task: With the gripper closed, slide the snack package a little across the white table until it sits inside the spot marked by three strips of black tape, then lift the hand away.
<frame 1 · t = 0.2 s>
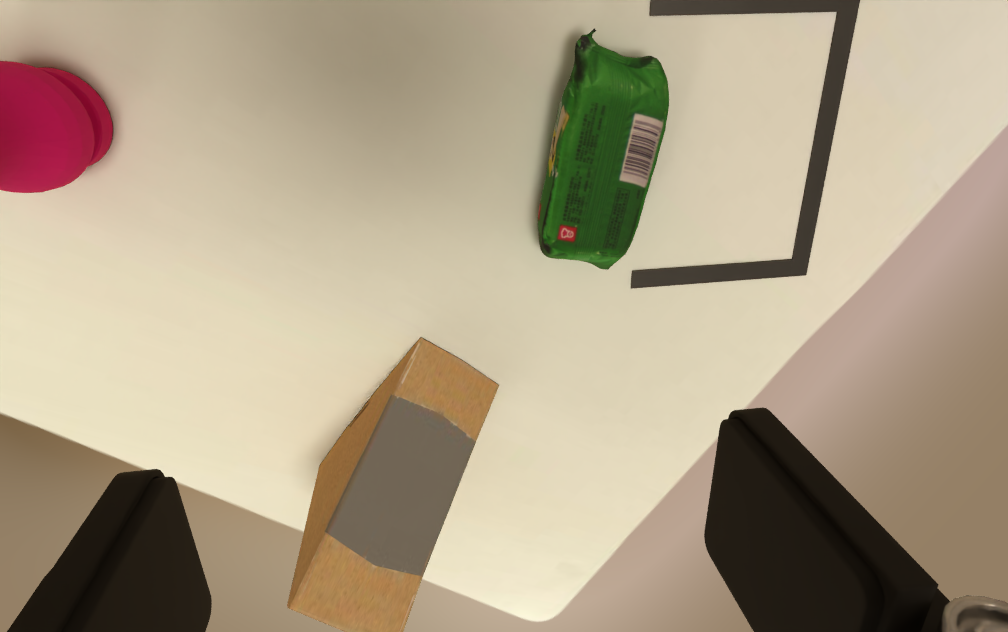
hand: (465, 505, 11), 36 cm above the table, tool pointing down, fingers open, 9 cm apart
pepper mill: (62, 119, 40), on the table
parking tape: (717, 150, 46), on the table
sandwich container: (409, 424, 53), on the table
snack package: (587, 156, 45), on the table
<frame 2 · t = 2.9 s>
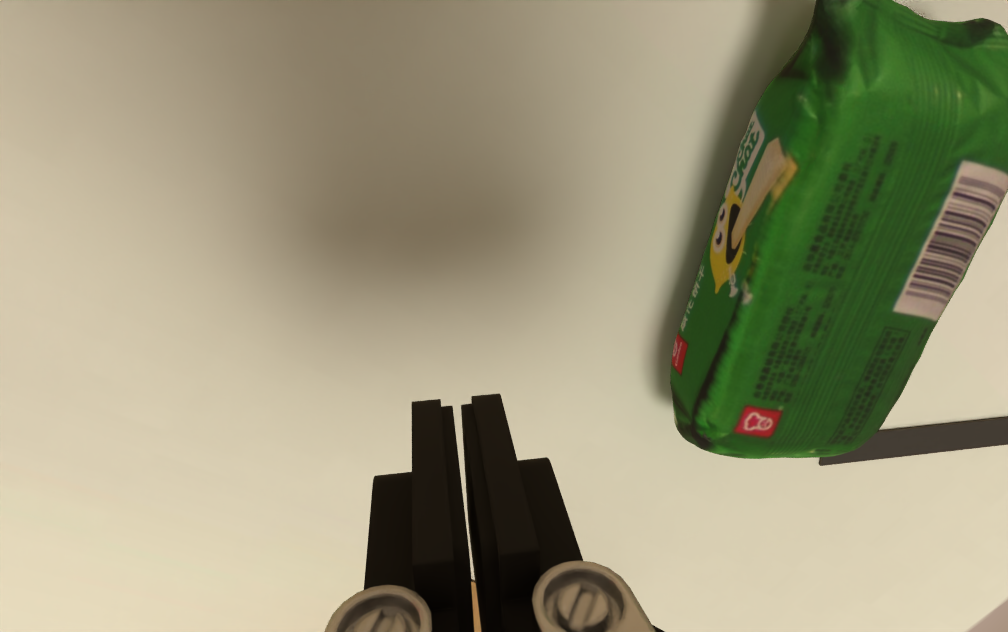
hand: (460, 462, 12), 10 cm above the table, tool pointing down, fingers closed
snack package: (773, 233, 22), on the table
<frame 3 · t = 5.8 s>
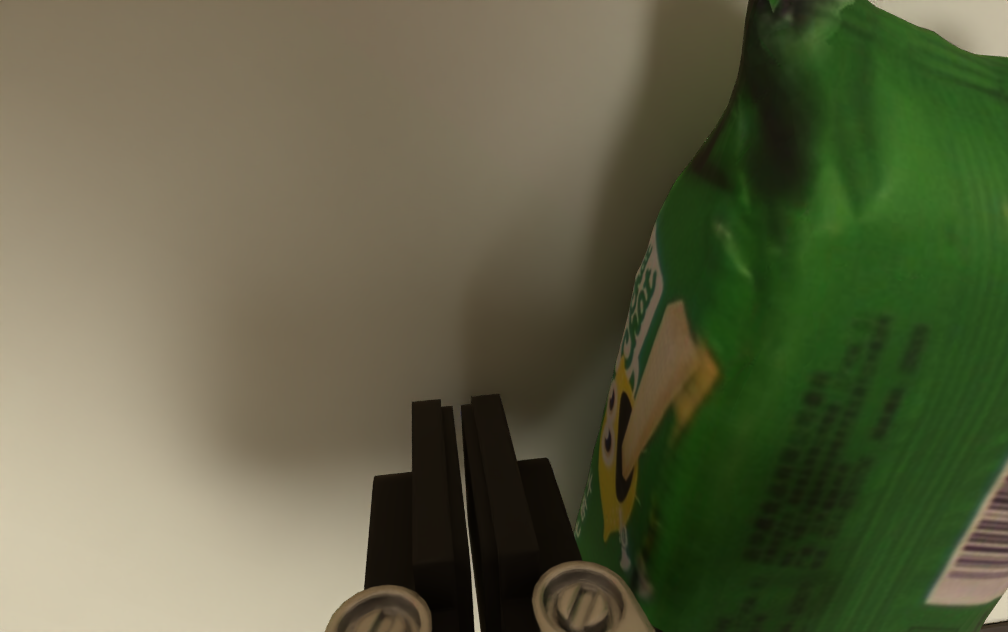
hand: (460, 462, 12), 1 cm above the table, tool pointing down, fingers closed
snack package: (719, 389, 14), on the table, touching gripper
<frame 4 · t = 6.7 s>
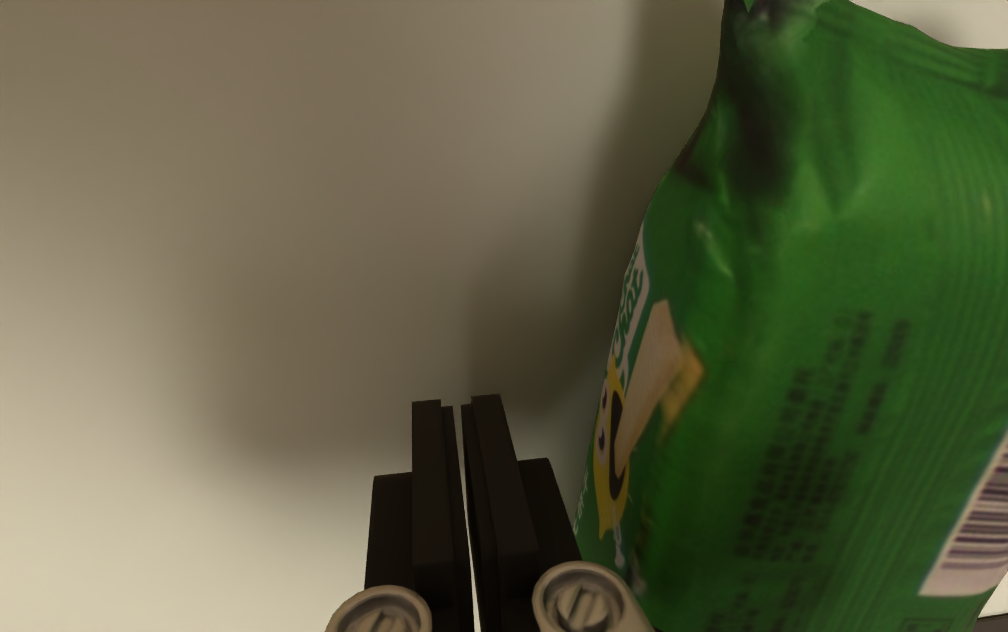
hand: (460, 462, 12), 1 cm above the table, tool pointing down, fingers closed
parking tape: (952, 359, 14), on the table
snack package: (715, 384, 14), on the table, touching gripper
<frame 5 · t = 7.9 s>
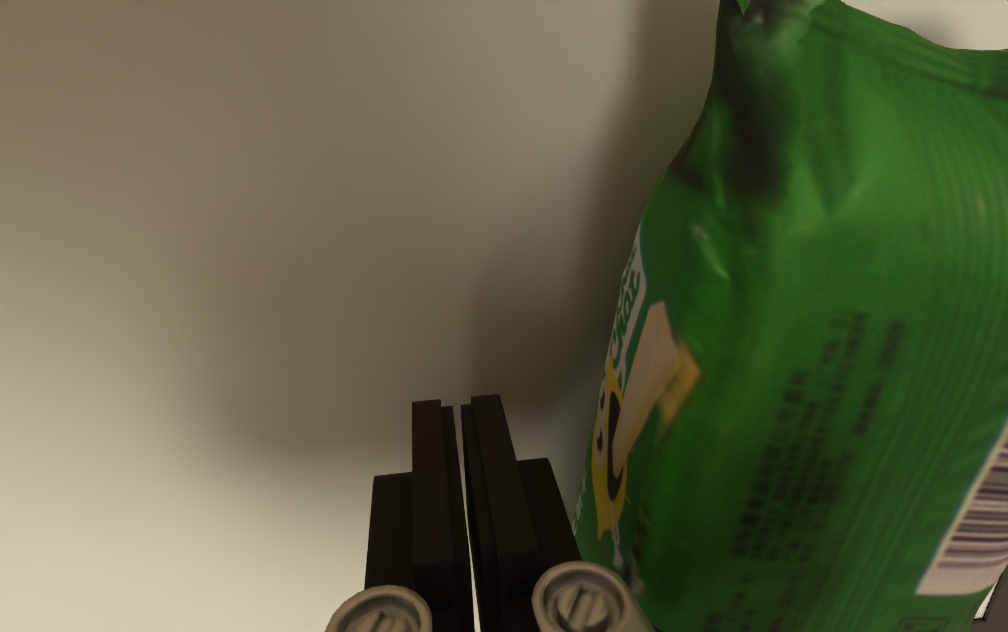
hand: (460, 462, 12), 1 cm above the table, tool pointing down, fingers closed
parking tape: (794, 377, 14), on the table
snack package: (713, 384, 14), on the table, touching gripper
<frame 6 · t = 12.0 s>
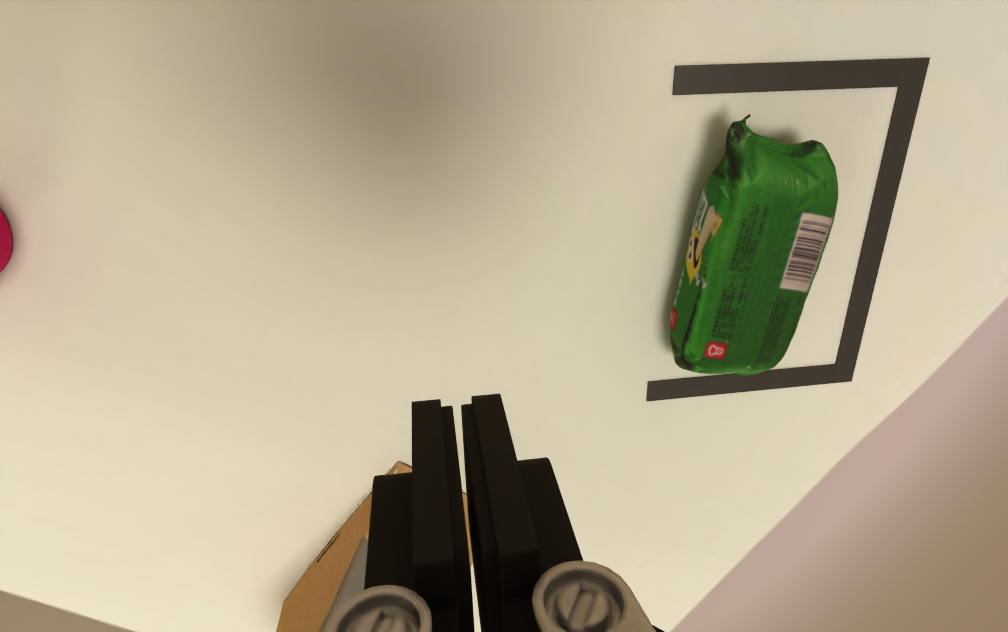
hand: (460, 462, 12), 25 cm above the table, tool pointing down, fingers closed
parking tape: (751, 246, 39), on the table
sandwich container: (387, 553, 45), on the table
snack package: (723, 248, 39), on the table
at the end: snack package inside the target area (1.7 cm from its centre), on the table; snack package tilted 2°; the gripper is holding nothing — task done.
